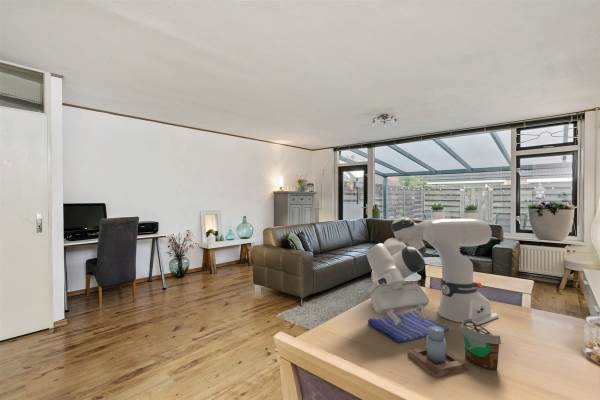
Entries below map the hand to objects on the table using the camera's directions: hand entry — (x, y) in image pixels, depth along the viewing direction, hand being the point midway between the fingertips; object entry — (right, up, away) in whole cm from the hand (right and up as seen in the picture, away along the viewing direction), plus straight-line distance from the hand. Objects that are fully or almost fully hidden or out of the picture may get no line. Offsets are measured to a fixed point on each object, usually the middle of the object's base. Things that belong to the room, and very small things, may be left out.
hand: (411, 321), depth 93 cm
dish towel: (+3, -8, +13) cm, 16 cm away
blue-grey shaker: (+3, -7, -10) cm, 13 cm away
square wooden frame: (+3, -7, -10) cm, 13 cm away
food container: (+15, -8, -10) cm, 19 cm away
